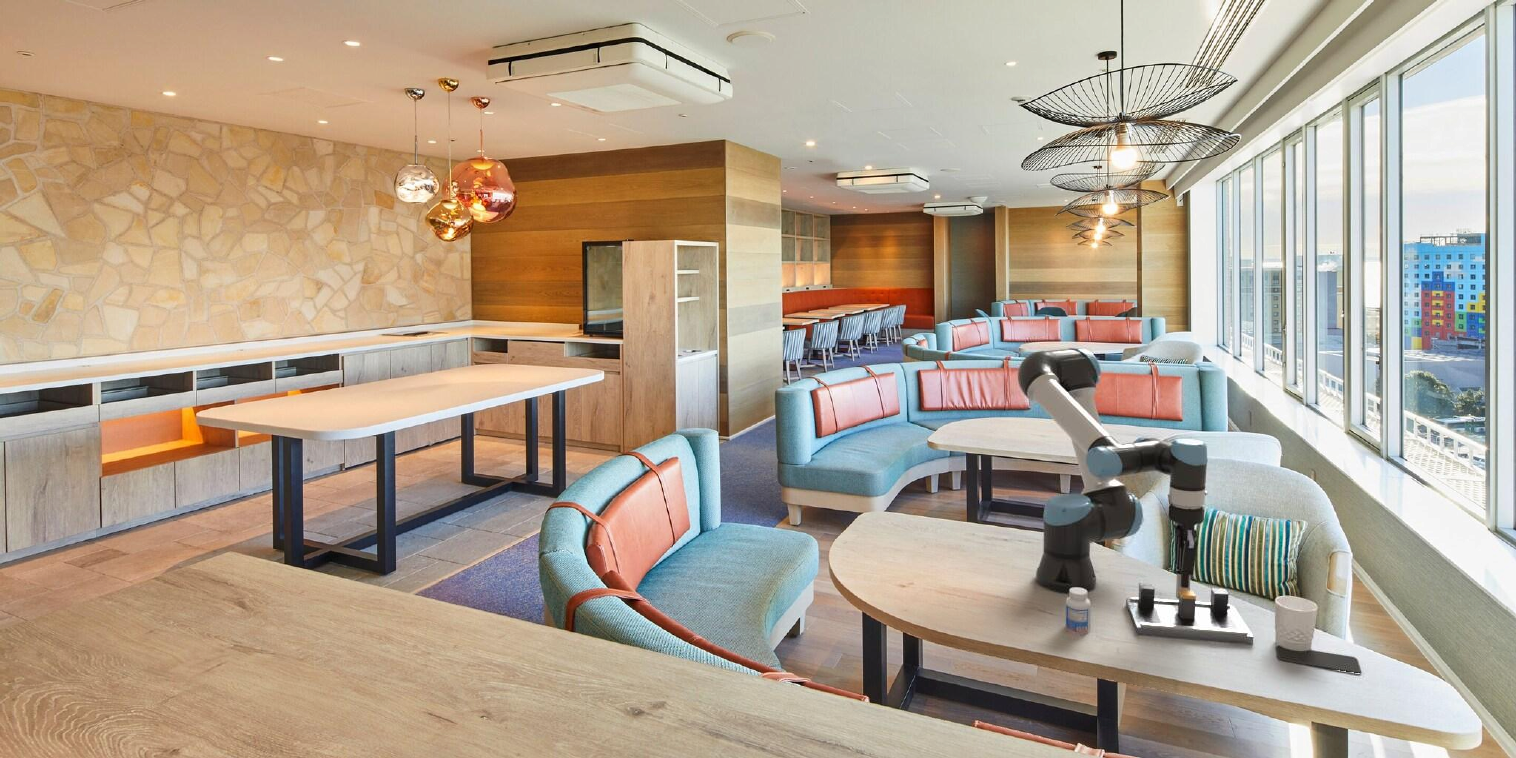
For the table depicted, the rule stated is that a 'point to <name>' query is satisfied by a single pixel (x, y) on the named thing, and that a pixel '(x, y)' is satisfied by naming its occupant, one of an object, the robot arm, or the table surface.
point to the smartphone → (1318, 659)
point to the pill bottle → (1078, 611)
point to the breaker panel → (1208, 625)
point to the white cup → (1294, 622)
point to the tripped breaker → (1186, 604)
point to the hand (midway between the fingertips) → (1182, 597)
